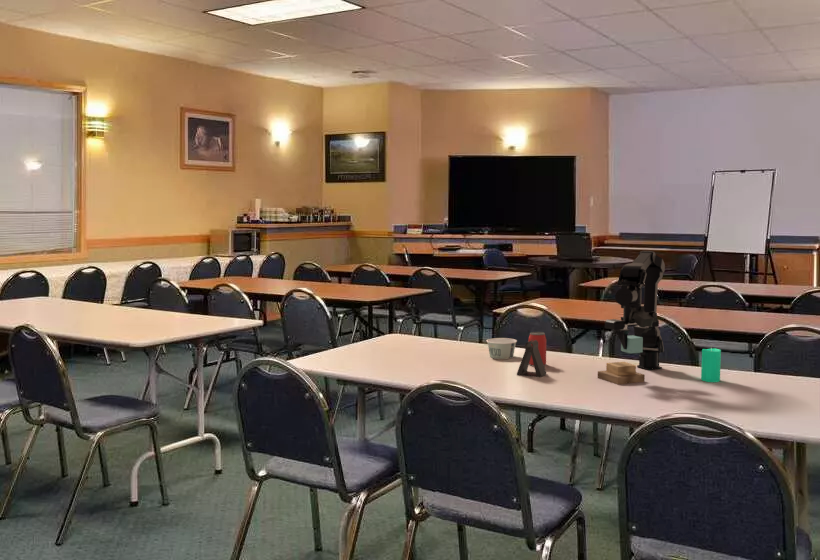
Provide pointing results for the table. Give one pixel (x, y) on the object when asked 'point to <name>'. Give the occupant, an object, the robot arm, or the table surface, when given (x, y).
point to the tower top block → (621, 368)
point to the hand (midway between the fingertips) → (631, 348)
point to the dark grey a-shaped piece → (536, 359)
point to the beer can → (539, 345)
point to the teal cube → (633, 344)
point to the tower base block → (621, 378)
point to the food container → (501, 348)
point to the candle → (711, 365)
